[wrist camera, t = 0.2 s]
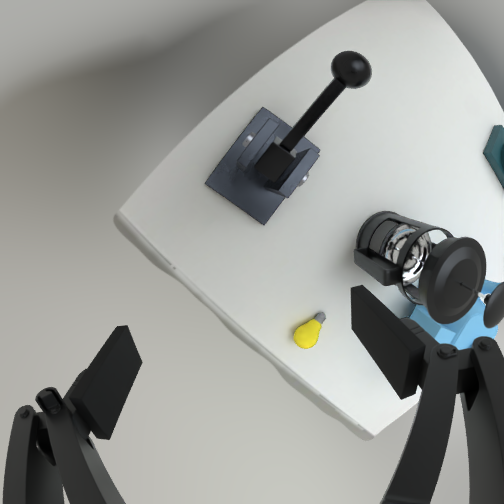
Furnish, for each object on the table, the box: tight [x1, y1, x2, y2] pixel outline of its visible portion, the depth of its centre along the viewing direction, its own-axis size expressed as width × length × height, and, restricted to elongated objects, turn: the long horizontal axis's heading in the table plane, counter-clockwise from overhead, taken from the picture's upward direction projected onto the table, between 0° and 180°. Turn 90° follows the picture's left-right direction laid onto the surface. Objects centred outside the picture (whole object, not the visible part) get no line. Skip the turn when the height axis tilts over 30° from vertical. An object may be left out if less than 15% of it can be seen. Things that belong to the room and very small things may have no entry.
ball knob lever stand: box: [205, 107, 320, 225], centre depth 28 cm, size 12×9×14 cm
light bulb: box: [294, 313, 326, 349], centre depth 39 cm, size 3×6×4 cm, turn 138°
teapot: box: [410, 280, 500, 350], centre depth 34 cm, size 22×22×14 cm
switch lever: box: [254, 51, 372, 183], centre depth 20 cm, size 13×3×3 cm, turn 144°
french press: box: [354, 211, 504, 328], centre depth 27 cm, size 12×9×23 cm
